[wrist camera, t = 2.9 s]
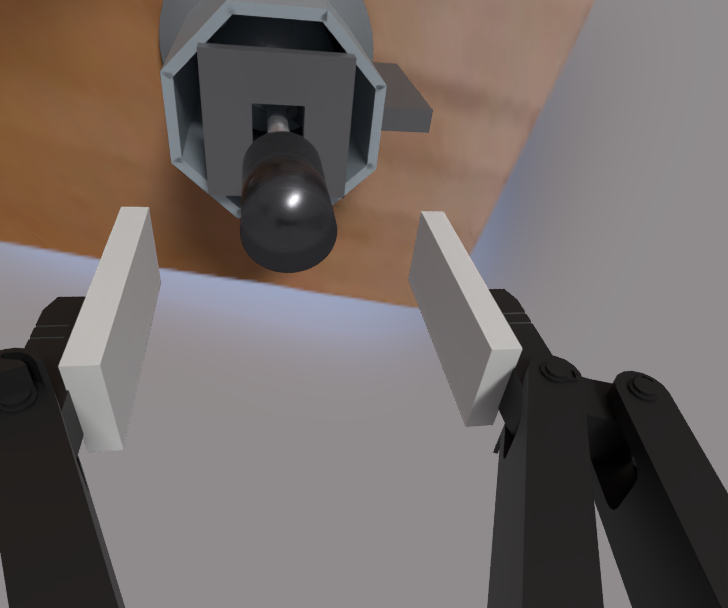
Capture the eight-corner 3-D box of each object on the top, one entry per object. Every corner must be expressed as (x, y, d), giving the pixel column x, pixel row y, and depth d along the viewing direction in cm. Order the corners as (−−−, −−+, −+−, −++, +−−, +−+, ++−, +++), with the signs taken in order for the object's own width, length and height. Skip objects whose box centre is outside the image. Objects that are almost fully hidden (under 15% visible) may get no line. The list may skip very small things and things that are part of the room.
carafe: (197, 127, 38) (176, 225, 27) (182, -44, 31) (147, -4, 21) (379, 134, 40) (424, 227, 30) (398, -22, 34) (465, 24, 23)
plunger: (210, 125, 35) (177, 327, 19) (200, -14, 30) (144, 105, 14) (330, 130, 37) (389, 322, 21) (338, -1, 32) (425, 119, 16)
